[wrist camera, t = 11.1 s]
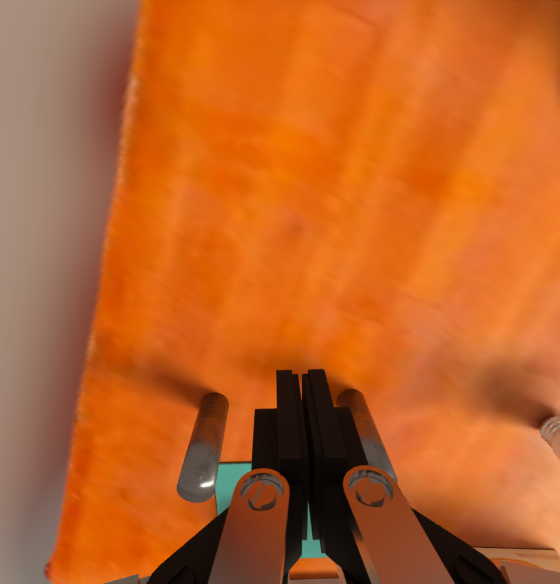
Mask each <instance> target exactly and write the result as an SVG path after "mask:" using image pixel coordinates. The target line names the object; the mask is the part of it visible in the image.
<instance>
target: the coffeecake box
mask: <svg viewBox="0 0 560 584" xmlns="http://www.w3.org/2000/svg"><path fill="white" fill-rule="evenodd" d="M473 548H474V549H476V550H477V551H479V552H481V553H482V554H483V555H485V556H486V557H487V558H488V559H490V560H491V561H492V562H493V563H494V564H495V565H500V566H501V565H502V561H506V562H511V563H516V564H521V565H526V566H531V567H536V568H541V569H546V570H551V571H556V572H560V555H559V554H558V552H557V551H556V550H535V549H503V548H476V547H473Z"/></svg>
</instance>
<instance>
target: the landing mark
mask: <svg viewBox="0 0 560 584" xmlns="http://www.w3.org/2000/svg"><path fill="white" fill-rule="evenodd" d="M251 467H252V462H244V463H219V468H218V474H217V480H216V486H215V491H216V502H217V513H218V515H219V514H221V513H222V512H223V511H224V510H225V509H226V508H228V507H229V506H230V503H231V499H232V496H233V492H234V489H235V486H236V484H237V482H238V480H239V479H240V478H241V477H242V476H243V475H244V474H246V473H248V472H249V471H251ZM319 557H328V556H327V555H326V554H325V553H321V547H320V540H313V538H312V530H311V522H310V513H309V504H308V528H307V540H302V556H301V557H300V558H319Z"/></svg>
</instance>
